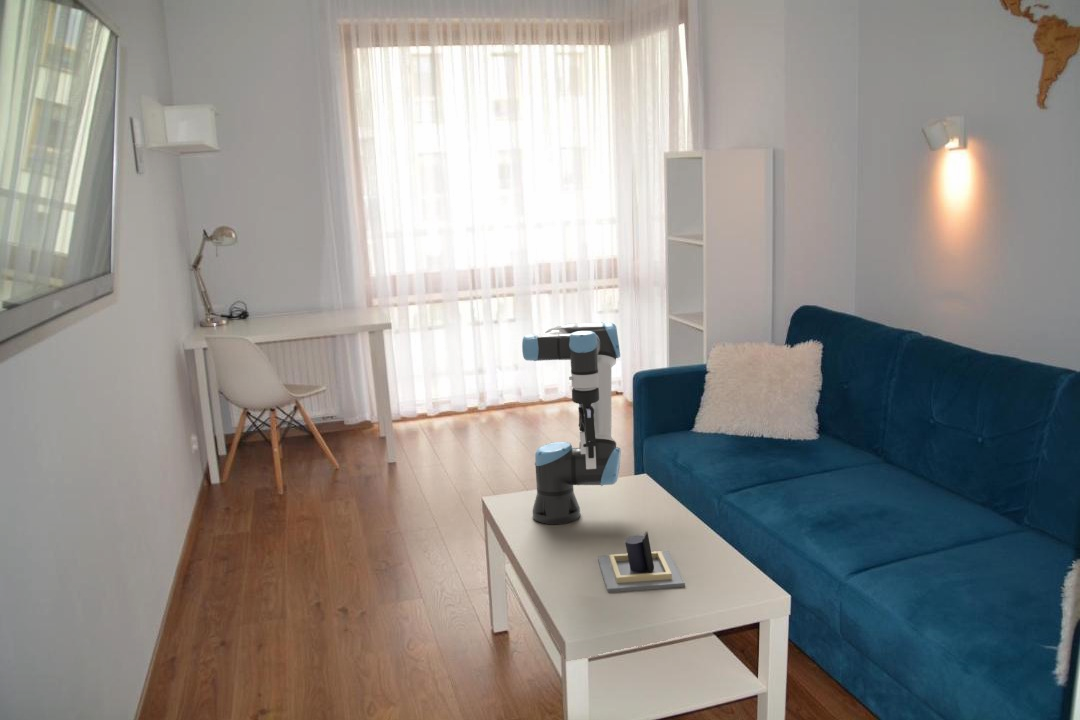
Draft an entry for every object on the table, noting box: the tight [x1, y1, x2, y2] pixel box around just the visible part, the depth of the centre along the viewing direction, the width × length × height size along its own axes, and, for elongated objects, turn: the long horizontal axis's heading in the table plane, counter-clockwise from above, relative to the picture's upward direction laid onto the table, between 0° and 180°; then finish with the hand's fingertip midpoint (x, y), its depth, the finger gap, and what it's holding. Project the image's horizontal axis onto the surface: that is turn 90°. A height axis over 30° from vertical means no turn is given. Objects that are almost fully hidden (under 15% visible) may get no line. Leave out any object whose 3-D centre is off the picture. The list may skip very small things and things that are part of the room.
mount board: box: [597, 550, 686, 593], centre depth 231 cm, size 20×20×2 cm
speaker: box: [624, 531, 654, 573], centre depth 230 cm, size 8×6×10 cm
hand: (588, 461), depth 242 cm, fingers open, 13 cm apart
